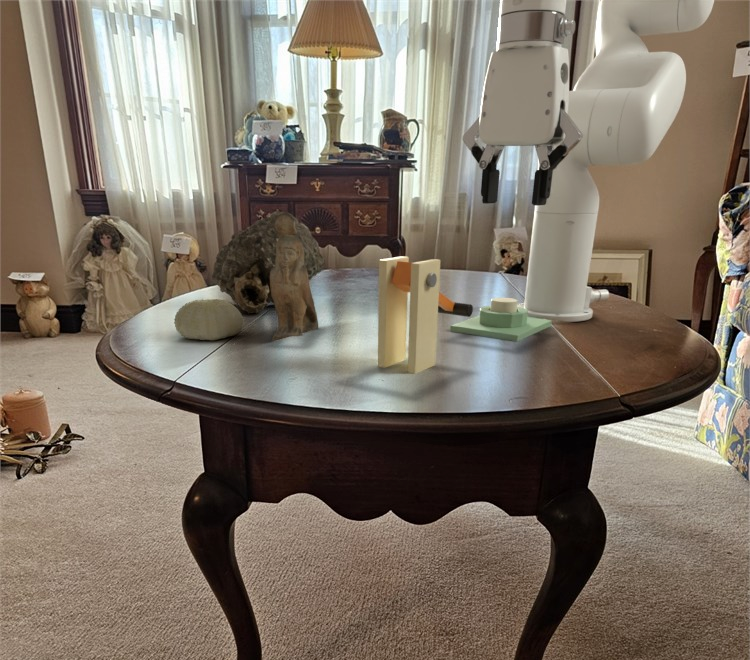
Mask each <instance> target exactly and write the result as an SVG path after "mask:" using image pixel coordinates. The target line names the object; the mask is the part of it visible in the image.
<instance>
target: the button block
mask: <svg viewBox="0 0 750 660" xmlns="http://www.w3.org/2000/svg"><path fill="white" fill-rule="evenodd" d="M490 309H491V305H485V306H482V307H480V308H479V311H478V312H479V313H478V315H476V316H474V317H470V318H467V319H465V320H462V321H460V322H456V323H454V324H451V325H450V328H449V329H450V330H449V331H450V332H452V333H453V332H454V333H460V334H466V335H474V336H478V337H479V336H480V337H484V338H485V337H486V338H493V339H499V340H505V341H512V342H519V341H522V340H523V339H526V338H528V337H530V336H532V335H535V334H537V333H539V332H541V331H544V330H545V329H548V328H550V327H551V326H552V324H553V320H549V319H541V318H534V317H527V315H528V311H527V310H526V309H524V308H520V307H517V312H512V313H500V312H493V311H490Z"/></svg>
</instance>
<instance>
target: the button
mask: <svg viewBox="0 0 750 660" xmlns="http://www.w3.org/2000/svg"><path fill="white" fill-rule="evenodd" d="M517 304H519V302H518V299H516V298H511V297H493V298H491V300H490V306H491V309H490V311H493V312H500V313H512V312H517Z"/></svg>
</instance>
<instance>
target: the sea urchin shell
mask: <svg viewBox="0 0 750 660" xmlns="http://www.w3.org/2000/svg"><path fill="white" fill-rule="evenodd" d="M173 320H174V322H173V324H174V328H175V330H176V331H177V333H178V334H179V335H181V336H182V337H183V338H185V339H191V340H200V341H212V342H213V341H217V340H220V339H225V338H229V337H233V336H236V335H237V334H239V333H240V332H241V331H242V329H243V327H244V318H243V315H242V313H241V311H240V310H239V309H238V308H237V307H236V306H235V305H234V304H232V303H231V302H229V301H227V300H224V299H219V298H213V299H212V298H211V299H208V298H207V299H195V300H191V301H188V302H186V303H185V304H184V305H182V306H181V307H180V308H179V309H178V310H177V312H176V314H175V315H174V319H173Z"/></svg>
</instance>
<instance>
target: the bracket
mask: <svg viewBox="0 0 750 660" xmlns="http://www.w3.org/2000/svg"><path fill="white" fill-rule="evenodd" d="M409 259H410V257H409V256H405V255H403V256H402V255H401V256H395V257H389V258H388V257H387V258H383V259H382V258H381V259H379V260H378V308H377V309H378V316H377V367H379V368H388V367H391V366H393V365H396V364H399V363H401V362H403V361H406V357H407V373H410V374H418V373H420V372H422V371H425V370H427V369H429V368H432V367H433V366H436V354H437V337H438V316H439V313H438V300H439V292H440V277H441V259H436V258H431V259H426V260H420V261H415V262H412V263H411V285H410V292H404V291H402V290H401V289H400V288H398V287H397V286H395V285H394V284H392V281H393V277H394V273H395V269H396V265H397V261H402V262H410V260H409ZM408 295H409V317H408ZM408 319H409V320H408ZM407 320H408V321H407ZM407 322H409V323H408V351H407ZM407 354H408V355H407Z"/></svg>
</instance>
